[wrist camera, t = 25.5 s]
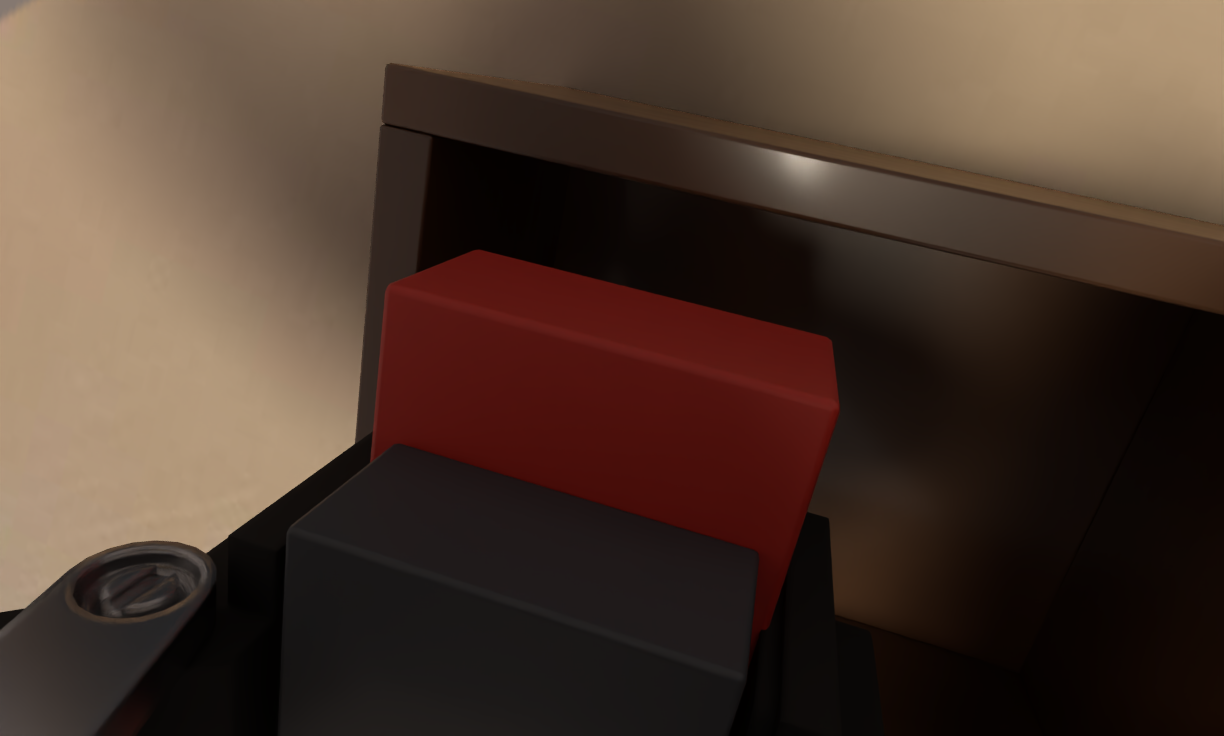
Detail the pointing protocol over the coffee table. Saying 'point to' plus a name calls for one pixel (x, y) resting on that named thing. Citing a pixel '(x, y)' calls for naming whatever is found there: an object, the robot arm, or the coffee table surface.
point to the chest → (899, 378)
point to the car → (555, 513)
